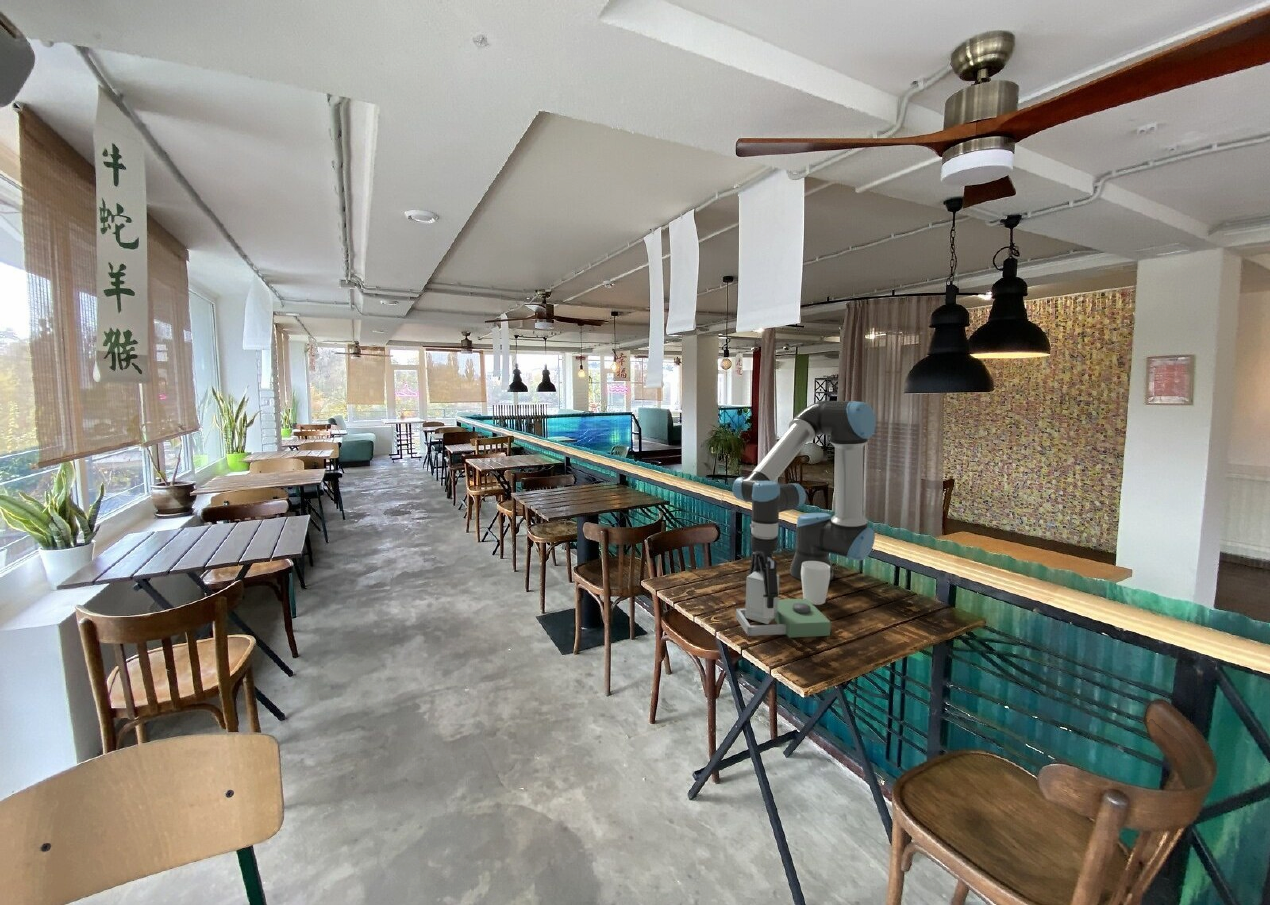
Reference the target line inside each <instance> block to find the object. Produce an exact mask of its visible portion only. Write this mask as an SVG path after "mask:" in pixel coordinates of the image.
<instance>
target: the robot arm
mask: <svg viewBox="0 0 1270 905" xmlns="http://www.w3.org/2000/svg"><path fill="white" fill-rule="evenodd" d="M876 427H877V420H876V415H875V412H874V410H873V408H872V407H871V405H870V404H868V403H866V402H864V401H856V400H820V401H817V402H815V403H812V404H810V405H808V406H807V407H805V408H804V409H802V410H801V411H800V412H799V413H797V414H796V415H795V416H794V417H793V418H792V419H791V421H790V422H789V424H788V429H787V430H786V432H784V433H783V435H782V436H781V437H780V438H779V439H778V441H776V443H775V444H774V445H773V447H772V448H770V450H769V451H768V453H767V454H766V455H765V456H764V457H763V458H762V459H761V461H760V462H759V463H758V464H757V465H756V467H755V468H754V469H753V470H752V472H750V474H749V475H748V476H747V477H746V476H739V477H737V478H736V479H735V480H734V481H733V484H732V489H731V490H732V494H733V496H734V497H735V499H736V500H738V501H739V500H740V501H741V502H745V503H750V504H751V524H749V527H750V530H751V536H750V548H751V559H750V565H749V573H748V576H749V575H750V574H752V573H753V572H755V571H761V572H762V573H763V580H764V587H765V594H766V595H763V597H764V614H763V618H764V619H766V618H774V597H778V598H779V596H778V586H777V575H778V574H777V572H778V571H777V565H778V564H777V563H778V562H777V560H774V558H773V555H772V554H773V552H775V551H777V550H778V548H779V546H778V545H779V537H778V535H779V532H780V531H779V527H780V522H779V520H780V519H779V517H780V513H782V512H786V511H791V510H793V511H794V510H795V509H797V508H800V507H802V506H803V505H804V504H805V503H806V499H807V494H806V490H805V488H804V487H803V486H802V485H800V484H799V483H794V482H793V483H792V482H789V483H778V481H777V479H779V477H780V476H781V475H782V474H783V473H784V471H785V470H786V469H787V467H788V466H789V465H790V464H791V463H792V462H793V460H794V459H795V457H796V456H797V455H798V454H799V452H800V451H801V450H802V449H803V448H804V446H806V444H807V443H809V442H812V441H814V439H815V438H816V437H818V436H822V435H823V436H829V443H830V444H831V445H832V446H834V484H835V485H834V487H835V488H834V489H835V490H834V493H835V494H834V495H835V496H834V498H835V499H834V500H835V501H834V502H835V503H834V505H835V507H834V508H835V510H834V511H835V512H834V513H835V514H833V516H832V515H831V514H829V513H826V512H806V513H803V514H800V515H798V517H797V520H796V526H795V527H796V532H795V535H796V536H795V553H794V556H793V558H792V562H791V564H790V567H789V574H790V576H792V577H793V578H794V579H797V580H799V581H800V580H801V567H802V563H803V562H805V561H819V562H823V563H826V564H828V565H829V566H830V581H832V580H833V578H834V570H833V566H832V561H831V560H830V559H831V558H830V554H831V555H832V554H833V555H836V556H838V557H843V558H846V559H848V560H856V561H863V560H864V559H866V558H867V557H868V556H869V555H870V554H871V551H872V549H873V547H874V544H875V540H876V534H875V530H874V529H872V528H871V527H868V519H867V517H865V516H864V514H863V511H864V510H863V507H864V506H863V502H864V501H863V500H864V498H863V496H864V495H863V493H864V491H863V490H864V488H863V487H864V485H863V484H864V483H863V478H864V476H863V475H864V473H863V472H864V471H863V465H864V462H863V461H864V460H863V459H864V457H863V456H864V453H863V452H864V450H863V449H864V447H865V445H866V444H867V443H868V442H869V439H870V438H872V437H873V435H874V433H875V429H876ZM801 581H802V580H801Z"/></svg>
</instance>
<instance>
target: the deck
mask: <svg viewBox="0 0 1270 905" xmlns="http://www.w3.org/2000/svg"><path fill="white" fill-rule="evenodd" d="M734 615H735V619H736V620H737V621H738V623H739V625H740V626H741V627H742V629H743V630H744V632H745V634H746V635H747V637H753V636H755V637H756V636H771V635H772V636H773V635H775V636H776V635H785V636H787V637H788V638H790V639H791V638H804V637H805V638H806V637H826V636H831V625H832V622H831V620H829V619H828V618H827V617H826V616H825V615H824V614H823V613H822V612H821V610H819V609H818V608H817V607H816V605H814V604H811V603H810V602H809V601H808V600H807V599H803V598H790V599H788V598H787V599H786V598H785V599H778V615H777V616H776V617H775V618H774V619H773V620H774V621H775V623H776V624H759V625H758V624H755V625H751V624H750V622H749V621H748V620H747V618H745V608H735V614H734Z"/></svg>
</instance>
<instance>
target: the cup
mask: <svg viewBox="0 0 1270 905" xmlns="http://www.w3.org/2000/svg"><path fill="white" fill-rule="evenodd" d="M830 581H831V580H830V566H829V565H828V564H826V563H823V562H819V561H805V562H803V563H802V567H801V588H802V597H803V598H802V599H807V600H808V601H809V602H810V603H811V604H812V605H814V606H821V605H824V604H825V603H826V599H827V595H828V589H829V585H830Z"/></svg>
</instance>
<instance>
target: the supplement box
mask: <svg viewBox="0 0 1270 905" xmlns="http://www.w3.org/2000/svg"><path fill="white" fill-rule="evenodd" d="M752 572H753V571H752ZM745 582H746V584H745V587H746V588H745V608H744V609H745V618H746V619H749V620H750V621H751V620H752V621H754V622H758V623H761V624H762V623H763V625H770V623H771V622H772V621H773V620H774V618H775V617H776V616H777V615H778V600H779V596H780V595H779V589H780V574H777V586H778V597H774V618H766V619H764V618H763V614H764V597H763V595H766V594H765V587H764V580H763V573H762V572H761V571H755V572H753V573H752V574H750V575H749V574H748V575H747V576H746V580H745Z"/></svg>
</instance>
